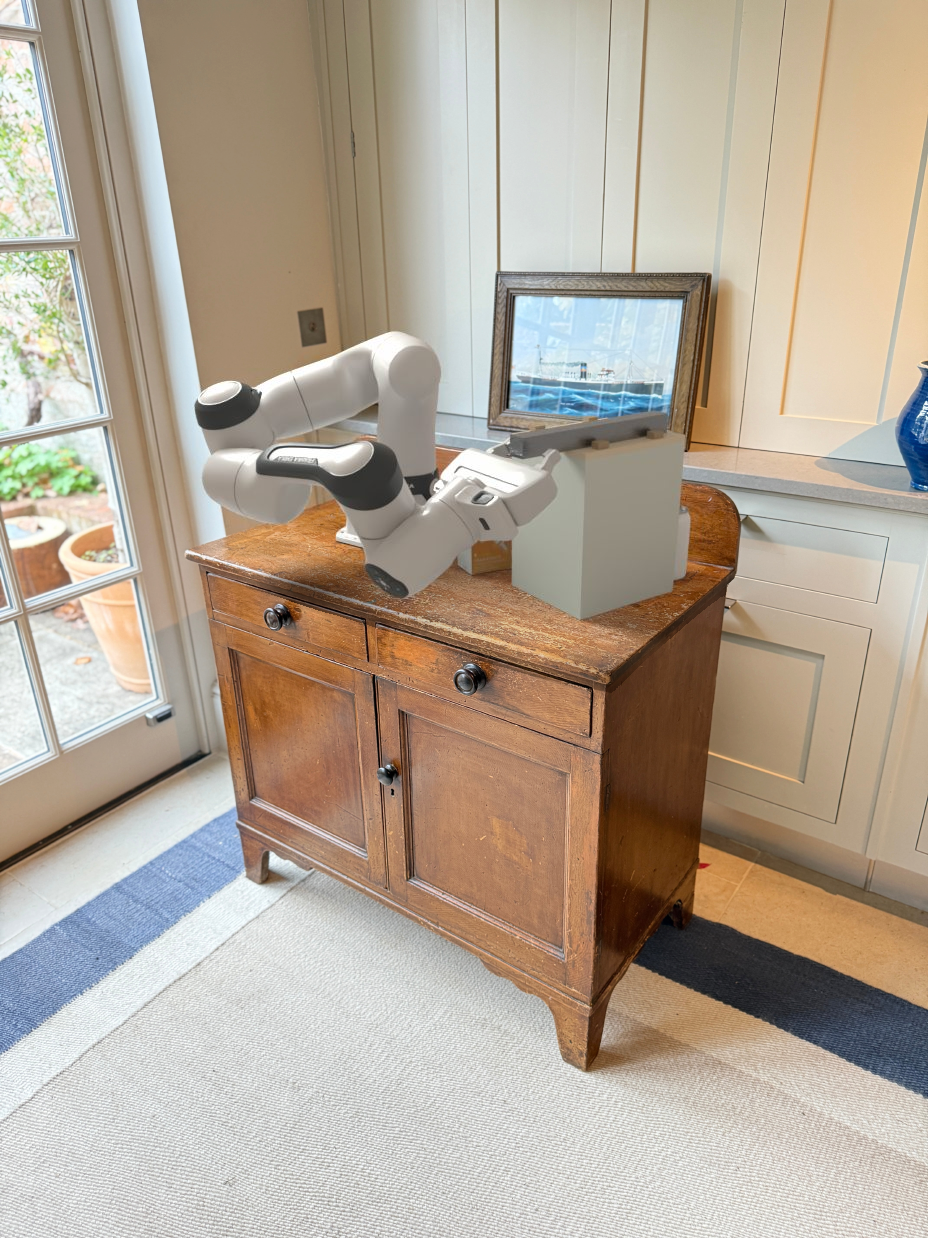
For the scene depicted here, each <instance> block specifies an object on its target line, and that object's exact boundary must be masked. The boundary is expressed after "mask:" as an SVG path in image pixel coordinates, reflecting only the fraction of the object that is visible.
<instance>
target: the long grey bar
mask: <svg viewBox="0 0 928 1238" xmlns="http://www.w3.org/2000/svg"><path fill="white" fill-rule="evenodd" d="M606 418H607V419H602V418H600V419H601V420H595V421H588V422H583V421H581V422H582V423H578V422H575V423H576V424H572V423H569V424H570V425H566V424H563V425H564V426H560V425H557V426H558V427H554V426H551V427H552V428H548V427H545V428H546V429H540V430H534V431H530V430H527V431H528V432H524V431H521V432H522V433H518V432H515V433H516V434H512V433H511V434H509V437H510V454H509V456H510V457H512V456H513V457H516V458H519V459H528V458H533V457H539V456H542V454H544V453H545V452H546V451H547V450H548V449H549V448H552V449H555V450H558V451H559V453H560V452H566V451H571V450H576V449H582V448H587V447H592V441H597V440H606V441H609V443H614V442H619V441H625V440H630V439H636V438H641V437H646V436H647V431H652V430H661V431H664V433H667V431H668V423H669V421H668V419H669V413H668V412H664V411H663V412H662V411H658V410H650V411H643V412H637V413H632V414H626V415H620V416H614V417H606Z"/></svg>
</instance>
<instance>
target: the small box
mask: <svg viewBox="0 0 928 1238" xmlns="http://www.w3.org/2000/svg"><path fill="white" fill-rule="evenodd" d="M457 566H458V567H460V568H461V569H463V570H464V571H465V572H467V573H468V574H469V575H470V576H475V575H479V574H486V573H490V572H491V573H492V572H496V571H502V570H509V569H512V550H511V540H509V541H499V540H490V541H478V542H477V543H475V544H474V545H473V546H472V547H471V548H469V549H467V550H465V551H463V552H462V553H460V554H459V555H458V556H457Z"/></svg>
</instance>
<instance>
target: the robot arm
mask: <svg viewBox="0 0 928 1238" xmlns="http://www.w3.org/2000/svg"><path fill="white" fill-rule="evenodd" d="M441 377H442V369H441V363H440V360H439V358H438V356H437V353H436V352H435V350H434V349H433V348H432V346H431V345H429V344H428V343H427V342H425V341H424V340H422V339H420V338H417V337H416V336H413V335H411V334H407V333H405V332H402V331H389V332H386V333H383V334H380V335H377V336H376V337H372V338H371V339H368V340H366V341H362V342H361V343H358V344H356V345H354V346H352V347H349V348H347V349H345V350H344V351H341V352H339V353H337V354H335V355H332V356H330V357H327V358H324V359H321V360H319V361H315V362H312V363H310V364H307V365H305V366H304V365H303V366H301V367H298V368H295V369H292V370H289V371H287V372H284V373H282V374H279V375H277V376H275V377H273V378H271V379H268V380H266V381H264V382H262V383H260V384H258V385H256V386H255V387H254V386H250V385H249V384H248V383H245V382H241V381H236V380H235V381H234V380H227V381H221V382H217V383H215V384H213V385H211V386H209V387H207V388H206V389H204V390H202V392H200V394H199V395H198V397H197V399H196V401H195V402H194V407H193V408H194V412H195V413H194V414H195V418H196V422H197V424H198V426H199V427H200V428H201V431H202V434H203V437H204V440H205V443H206V446H207V449H208V450H209V453H210V456H209V457H208V458H207V460H206V461H205V462H204V464H203V468H202V473H201V482H202V486H203V489H204V491H205V493H206V495H208V497H209V498H210V499H211V500H212V501H214V502H215V503H217V504H218V505H219V506H221V507H223V508H225V509H227V510H228V511H231V512H233V513H235V514H237V515H239V516H242V517H244V518H247V519H250V520H253V521H257V522H260V523H265V524H270V525H285V524H288V523H289V522H292V521H293V520H295V519H297V518H298V517H299V516H301V514H302V513H303V512H304V511H305V509H306V507H307V505H308V504H309V501H310V499H311V494H312V491H313V486H315V487H322V488H324V489H325V490H326V491H327V492H328V493H329V494H330V495H331V496H332V498H333V499H334V500H335V501H336V503H337V504H338V506H339V507H340V509H341V510H342V511H343V514H344V515H345V517H346V522H345V523H346V524H345V526H343V527H342V528H340V529H339V530H338V531H337V532H336V535H335V541H336V542H340V543H345V544H347V545H352V546H356V547H359V548H362V549H363V553H364V556H365V563H364V570H365V572H366V575H367V576H368V578H369V579H370V580H371V581H372V582H373V583H374V584H375V585H376V586H378V587H379V589H380V590H381V591H383V592H384V593H386V594H387V595H389V596H391V597H393V598H396V599H401V600H403V599H407V598H411V597H412V596H414V595H416V594H418V593H420V592H421V591H422V590H424V589H425V588H427V587H429V585H431V584H432V583H433V582H435V580H437V579H438V578H439V577H440V576H442V575H443V574H444V573H445V572H446V571H447V570H448V569H449V568H450V567H451V566H452V565H453V563H454V562H455V560H456V559H457V558H458V555H459V554H460V553H462V552H463V551H465V550H467V549H469V548H471V547H472V546H473V545H474V544H475V543H477V542H478V541H490V540H499V541H509V540H512V539H513V538H514V537H515V536H516V535H517V534H518V529H517V527H516V526H523V525H525V524H527V523H529V522H530V521H531V520H533V519H534V518H535V517H536V516H537V515H539V514H540V513H541V512H542V511H543V510H544V509H545V508H546V507H547V506H548V505H549V504H550V503H551V502H552V501H553V500H554V499H555V498H556V496H557V492H558V488H557V486H556V483H555V481H554V479H553V477H552V475H551V474H552V471H553V468H554V466H555V465H556V464H557V463H558V462H559V461H560V460H561V455H560V453H559V451H558V450H555V449H552V448H549V449H548V450H547V451H546V452H545V453H544V454H542V456H543V458H544V459H543V461H542V463H541V464H537V465H536V466H535V467H532V466H529V465H526V464H523V463H519V462H516V461H513V460H512V459H511V458H510V459H509V458H508V457H506V456H508V455H510V436H508V438H506V439H505V440H504V441H503V442H501V443H499V444H496V445H494V446H491V447H489V448H488V449H487V450H485V451H484V450H482V449H478V448H475V447H468V448H467V449H464V450H463V451H461V452H459V454H458V455H457V456H456V457H455V458H454V459H453V460H452V461H451V462H450V463H449V464H448V466H446V468H444V470H443V471H442V472H441V473H440V470H439V468H438V467H437V452H436V451H437V448H436V446H437V445H436V419H437V411H438V402H439V391H440V389H439V388H440V387H439V386H440V382H441ZM376 403H378V411H377V412H378V413H377V424H376V425H377V426H376V441H373V440H355V441H351V442H347V443H325V442H324V443H322V442H303V441H301V442H300V441H297V442H296V441H287V442H285V441H283V442H278V441H279V440H284V439H285V440H286V439H289V438H293V437H297V436H301V435H304V434H308V433H310V432H314V431H316V430H319V429H321V428H324V427H325V428H326V427H327V426H328V427H329V426H330V425H333V424H336V423H339V422H341V421H344V420H347V419H350V418H352V417H355V416H356V415H358V414H360V413H361V412H362V411H364V410H366V409H368V408H369V407H371V406H373V405H375V404H376Z"/></svg>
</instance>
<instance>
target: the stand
mask: <svg viewBox="0 0 928 1238" xmlns="http://www.w3.org/2000/svg"><path fill="white" fill-rule="evenodd" d="M607 418H608V417H604V418H599V416H597V415H592V414H591V415H586V416H582V421H579V422H573V423H567V424H562V425H560V424H559V425H555V426H547V427H546V424H541V423H536V424H531V425H529V430H525V431H518V432H513V433H511V434H516V433H522V432H528V431H534V430H540V429H546V428H552V427H558V426H564V425H570V424H576V423H582V422H588V421H595V420H601V419H607ZM685 446H686V434H682V433H679V432H675V431H670V430H667V433H664V431H661V430H652V431H647V436H646V437H641V438H636V439H630V440H625V441H619V442H614V443H609V441H606V440H597V441H592V447H587V448H582V449H576V450H571V451H566V452H560V455H561V460H560V461H559V462H558V463H557V464H556V465H555V466H554V468H553V471H552V474H551V475H552V477H553V479H554V481H555V483H556V486H557V488H558V492H557V496H556V498H555V499H554V500H553V501H552V502H551V503H550V504H549V505H548V506H547V507H546V508H545V509H544V510H543V511H542V512H541V513H540V514H539V515H537V516H536V517H535V518H534V519H533V520H531V521H530V522H529V523H527V524H525V525H523V526H516V527H517V529H518V534H517V535H516V536H515V537H514V538H513V539H512V550H511V586H513V587H515V588H516V589H518V590H520V591H522V592H524V593H526V594H528V595H530V596H532V597H534V598H536V599H538V600H540V601H542V602H544V603H546V604H548V605H550V606H552V607H554V608H556V609H557V610H558V611H559V610H560V612H561V611H562V612H563V613H564V614H568V615H569V616H571V617H573V618H575V619H576V620H579V621H583V620H586V619H588V618H592V617H594V616H597V615H600V614H604V613H608V612H610V611H611V612H612V611H613V610H617V609H620V608H624V607H627V606H630V605H633V604H637V603H639V602H642V601H643V602H644V601H646V600H648V599H652V598H655V597H658V596H661V595H665V594H668V593H671V592H673V591H674V589H673V588H674V581H673V580H674V568H675V556H676V544H677V532H678V520H679V508H680V505H681V494H682V483H683V482H682V481H683V471H684V460H685V459H684V457H685V449H686V448H685ZM543 459H544V458H543V456H539V457H533V458H528V459H519V458H516V457H513V456H511V460H513V461H516V462H519V463H523V464H526V465H529V466H532V467H535V466H536V465H537V464H541V463H542V461H543Z"/></svg>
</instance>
